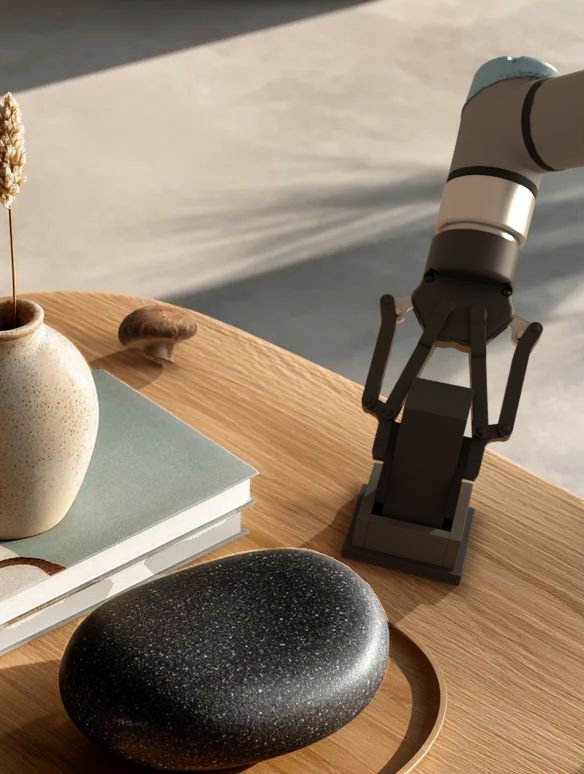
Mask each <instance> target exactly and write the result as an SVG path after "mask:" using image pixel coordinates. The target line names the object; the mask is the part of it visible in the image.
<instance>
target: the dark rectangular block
mask: <svg viewBox="0 0 584 774" xmlns="http://www.w3.org/2000/svg"><path fill="white" fill-rule="evenodd" d="M473 394H474V389H472V388H470V387H467V386H461V385H458V384H452V383H447V382H442V381H438V380H432V379H427V378H422V377H419V378H418V377H413V379H412V382H411V385H410V389H409V392H408V395H407V398H406V402H405V404H404V406H403V408H402V414H401V419H400V428H399V433H398V437H397V442H396V447H395V452H394V457H393V463H392V468H391V473H390V478H389V482H388V487H387V492H386V497H385V501H384V505H383V510H382V515H381V516H383V517H387V518H391V519H396V520H400V521H404V522H409V523H413V524H417V525H422V526H426V527H430V528H435V529H439V530H441V527H442V523H443V519H444V518H443V517H444V513H445V509H446V505H447V501H448V496H449V492H450V488H451V484H452V480H453V476H454V474H455V469H456V465H457V461H458V457H459V453H460V449H461V445H462V441H463V437H464V436H465V432H466V428H467V424H468V420H469V415H470V412H471V403H472V399H473Z"/></svg>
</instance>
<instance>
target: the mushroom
mask: <svg viewBox="0 0 584 774" xmlns="http://www.w3.org/2000/svg"><path fill="white" fill-rule="evenodd" d="M197 325H198V324H197V322H196V320H195V319H194V317H193V316H192V315H191V314H190V313H189V312H187V311H185V310H184V309H180V308H178V307H176V306H169V305H162V304H161V305H145V306H142V307H139V308H137V309H134V310H133V311H131V312H130V313H128V314H127V315H126V316H125V317H124V318H123V319H122V320H121V322H120V324H119V327H118V328H117V329H118V330H117V338H118V341H119V343H120V344H121V345H122V346H126V347H128V348H135V349H138V350H140V351H142V352H143V354H144V356H145V357H146V358H148V359H149V360H153V361H156V362H160V363H162V364H167V365H175V361H174V357H173V355H174V354H173V353H174V350H175V349H176V348H177V347H178V346H179V345H180V344H181V343H183V342H185V341H187V340H189V339H191V338H193V337H195V335H196V334H197V331H198V326H197Z"/></svg>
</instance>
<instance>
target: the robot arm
mask: <svg viewBox="0 0 584 774" xmlns="http://www.w3.org/2000/svg"><path fill="white" fill-rule="evenodd" d="M458 126H459V127H458V131H457V136H456V140H455V145H454V150H453V154H452V157H451V162H450V166H449V170H448V175H447V178H446V182H445V184H444V188H443V191H442V196H441V199H440V204H439V208H438V212H437V216H436V221H435V225H434V231H435V232H436V235H434V236H433V237H432V238H431V242H430V246H429V250H428V255H427V258H426V262H425V266H424V270H423V274H422V278H421V281H420V283H419V284H418V286H417V287H416V288H415V289H414V290H413V291H412V293H411V294H410V295H409V294H408V295H403V296H395V297H394V296H393V295H392V294H390V293H385V294H383V295H381V297H380V299H379V315H380V322H381V323H380V327H379V331H378V334H377V339H376V342H375V346H374V350H373V354H372V357H371V361H370V365H369V369H368V373H367V376H366V381H365V384H364V388H363V391H362V395H361V399H360V400H361V409H362V411H363V413H365V414H368V415H370V416H372V417H373V418H375V419H376V420H377V426H376V431H375V436H374V440H373V443H372V448H371V456H372V457H371V458H372V460H373V461H376V462H377V461H378V462H382V464H383V465H382V469H381V473H380V477H379V481H378V485H377V489H376V493H375V502H376V503H381V504H384V501H385V497H386V492H387V487H388V482H389V478H390V473H391V468H392V463H393V457H394V452H395V447H396V442H397V437H398V433H399V428H400V423H401V421H400V422H399V421H397V419H398V417H399V415H401V412H402V411H403V408H404V405H405V402H406V398H407V395H408V392H409V389H410V385H411V382H412V379H413V377H418V378H421V375H422V374H423V372H424V370H425V368H426V366H427V364H428V362H429V361H430V359H431V358H432V356H433V354H434V353H435V351H436V349H437V348H439V349H454V350H457V351H458V352H461V353H464V354H465V353H466V354H467V355H468V356H467V357H468V368H469V369H468V371H469V388H472V389H474V394H473V399H472V403H471V407H470V432H471V437H470V436H466V435H464V437H463V441H462V445H461V449H460V453H459V457H458V461H457V465H456V469H455V474H454V476H453V480H452V484H451V488H450V492H449V496H448V501H447V505H446V509H445V513H444V517H443V518H447V519H451V520H453V517H454V513H455V509H456V505H457V500H458V496H459V492H460V488H461V484H462V481H463V480H464V481H468V482H473V483H474V482H475V481H476V480H477V479H478V477H479V475H480V471H481V468H482V467H481V466H482V463H483V459H484V455H485V450H486V447H487V446H488V445H489V444H491V443H498V442H501V443H505V442H508V441H509V440H510V438H511V437H512V434H513V432H514V428H515V423H516V418H517V414H518V410H519V405H520V400H521V396H522V391H523V388H524V383H525V382H524V381H525V378H526V373H527V369H528V365H529V359H530V356H531V353H532V352H533V350H534V349H535V347H536V346H537V344H539V341H540V339H541V337H542V334H543V331H544V326H543V324H542V323H540V322H539V321H533V322H529V321H527V320H526V319H524V318H522V317H521V316H519V315H517V314H516V309H515V305H514V300H513V299H514V298H513V296H514V294H515V293H514V292H515V288H516V285H517V280H518V276H519V272H520V267H521V263H522V259H523V252H522V251H521V249H522V248H523V247H525V245H526V242H527V238H528V233H529V230H530V226H531V222H532V218H533V213H534V209H535V204H536V200H537V196H538V192H539V188H540V184H541V182H542V181H541V180H542V177H543V175H544V174H546V173H554V172H555V173H556V172H562V171H565V170H569V169H574V168H582V167H584V69H581V70H577V71H574V72H569V73H566V74H563V75H561V74H560V72H559V71H558V69H556V68H555V67H554V66H553V65H552V64H550V63H548V62H547V61H544V60H542V59H539V58H536V57H532V56H527V55H525V56H524V55H521V56H520V57H513V56H510V55H503V56H498V57H495V58H492V59H490V60H487V61H486V62H484V63H483V64H481V66H480V67H479V68H478V69H477V70H476V72H475V73H474V75H473V78H472V81H471V84H470V87H469V90H468V92H467V96H466V99H465V103H464V104H463V106H462V108H461V112H460V121H459V125H458ZM410 311H412V312H413V313H414V315H415V317H416V319H417V322H418V324H419V326H420V329H421V330H422V334H421V335H420V337H419V339H418V342H417V344H416V346H415V348H414V349H413V351H412V353H411V355H410V357H409V359H408V360H407V362H406V364H405V366H404V368H403V370H402V371H401V373H400V375H399V376H398V379H397V381H396V382H395V384H394V386H393V388H392V390H391V392H390V393H389V396H387V399H386V400H385V402H384V401H382V400H381V399H380V395H381V391H382V387H383V385H384V381H385V376H386V372H387V368H388V365H389V361H390V357H391V352H392V349H393V345H394V342H395V338H396V332H397V325H399V324H402V323H403V322H405V320H406V317H407V316H406V315H407V313H408V312H410ZM507 329H509V330H510V331H511V337H510V344H511V345H512V346H513V347H515V349H514V352H513V355H512V358H511V362H510V366H509V370H508V376H507V380H506V384H505V389H504V393H503V397H502V402H501V407H500V412H499V416H498V421H497V423H493V424H492V423H491V424H490V423H489V397H488V395H489V394H488V371H487V370H488V368H487V345H488V344H490V343H491V342H492V341H493V340H495V339H496V338H497V337H498V336H500V334H502V333H503V332H504V331H505V330H507Z"/></svg>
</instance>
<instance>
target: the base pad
mask: <svg viewBox="0 0 584 774" xmlns="http://www.w3.org/2000/svg"><path fill="white" fill-rule="evenodd" d="M382 465H383V463H381V462H377V461H376V462H374V464H373V467H372V470H371V472H370V475H369V479H368V482H367V483H362V485H361V488H360V491H359V495H358V498H357V501H356V503H355V504H356V505H355V507H354V510H353V513H352V516H351V519H350V522H349V526H348V529H347V532H346V535H345V537H344V541H343V544H342V547H341V552H340V558H343V559H347V560H350V561H355V562H359V563H364V564H367V565H371V566H372V565H373V566H375V567H376V566H377V567H380V568H384V569H388V570H393V571H397V572H401V573H404V574H409V575H414V576H418V577H422V578H427V579H430V580H435V581H439V582H443V583H446V584H451V585H455V586H459V585H460V583H461V580H462V575H463V571H464V566H465V560H466V555H467V551H468V547H469V543H470V536H471V532H472V527H473V521H474V518H475V514H476V513H475V512H476V508H474V507H471V506H470V501H471V497H472V492H473V489H474V483H472V482H467V481H463V480H462V484H461V488H460V492H459V496H458V500H457V505H456V509H455V513H454V517H453V520H451V519H447V518H444V519H443V523H442V527H441V530H439V529H435V528H430V527H426V526H422V525H417V524H413V523H409V522H404V521H400V520H396V519H391V518H387V517H383V516H381V515H382V510H383V505H384V504H381V503H376V502H375V493H376V489H377V485H378V481H379V477H380V473H381V469H382Z"/></svg>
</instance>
